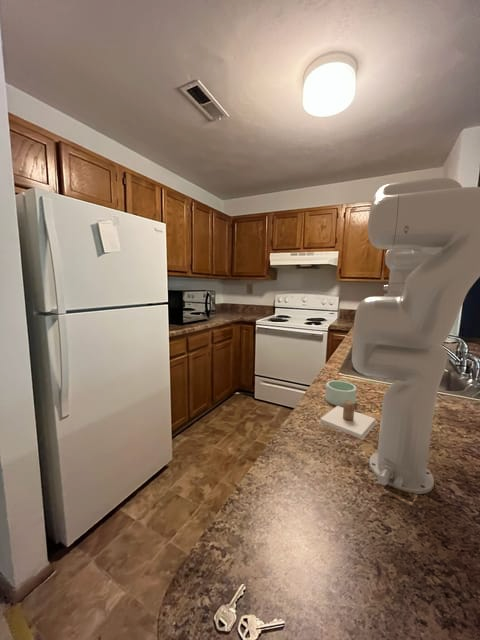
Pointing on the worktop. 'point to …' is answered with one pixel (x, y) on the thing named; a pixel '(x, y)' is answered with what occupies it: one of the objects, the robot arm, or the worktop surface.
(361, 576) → the worktop surface
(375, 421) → the mat
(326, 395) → the bowl
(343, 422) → the cover
